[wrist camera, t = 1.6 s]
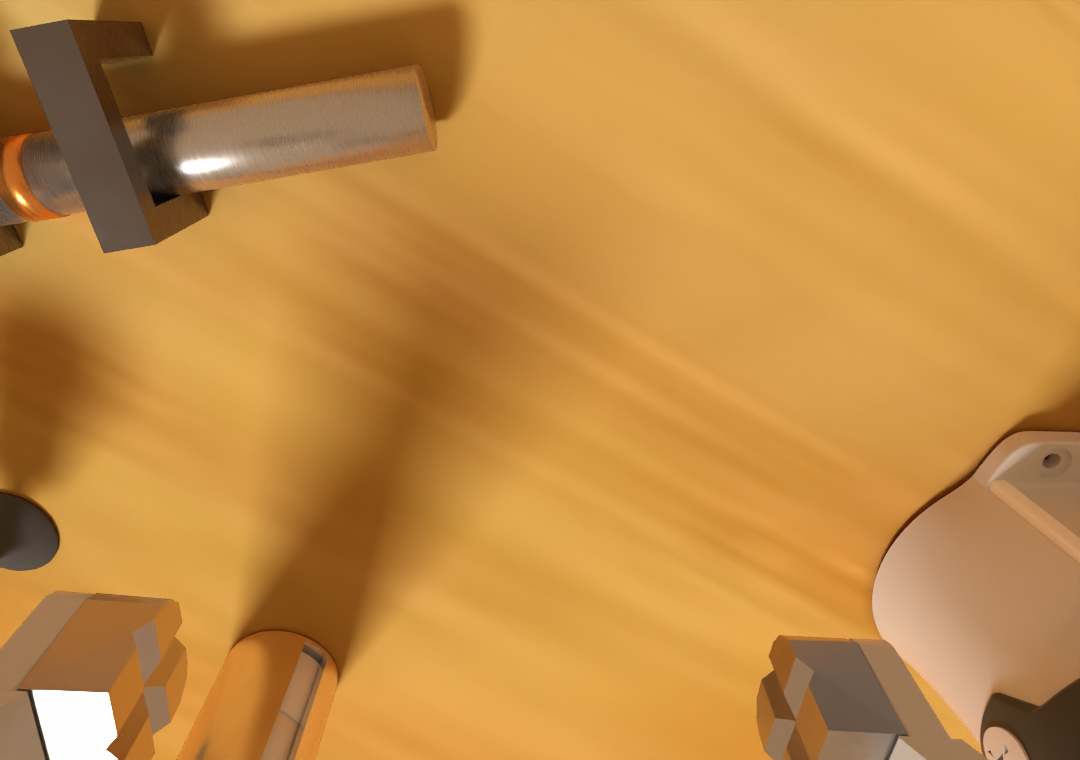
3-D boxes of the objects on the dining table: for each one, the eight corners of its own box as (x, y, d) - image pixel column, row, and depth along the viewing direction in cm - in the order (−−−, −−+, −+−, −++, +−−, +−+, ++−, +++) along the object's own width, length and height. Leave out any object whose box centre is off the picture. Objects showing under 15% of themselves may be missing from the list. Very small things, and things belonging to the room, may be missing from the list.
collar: (140, 22, 29) (67, 19, 24) (209, 215, 32) (155, 244, 27) (92, 31, 29) (9, 30, 24) (164, 222, 32) (103, 253, 27)
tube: (414, 43, 28) (416, 101, 26) (436, 113, 31) (438, 169, 29) (-32, 125, 29) (-57, 186, 27) (29, 185, 32) (9, 244, 30)
